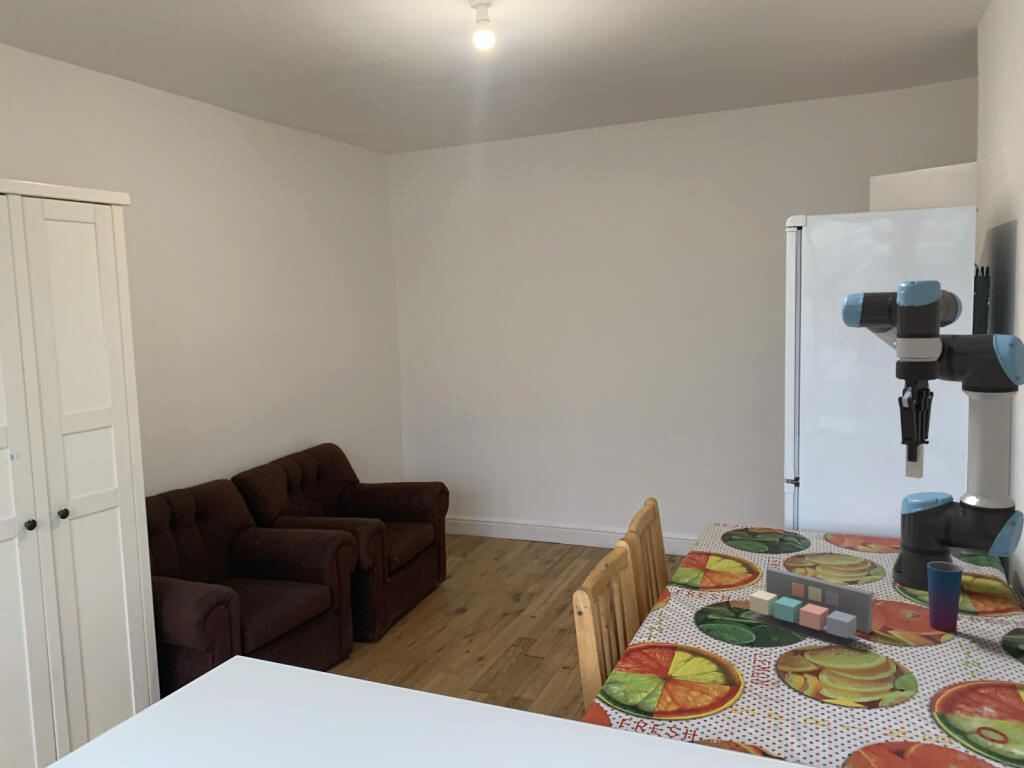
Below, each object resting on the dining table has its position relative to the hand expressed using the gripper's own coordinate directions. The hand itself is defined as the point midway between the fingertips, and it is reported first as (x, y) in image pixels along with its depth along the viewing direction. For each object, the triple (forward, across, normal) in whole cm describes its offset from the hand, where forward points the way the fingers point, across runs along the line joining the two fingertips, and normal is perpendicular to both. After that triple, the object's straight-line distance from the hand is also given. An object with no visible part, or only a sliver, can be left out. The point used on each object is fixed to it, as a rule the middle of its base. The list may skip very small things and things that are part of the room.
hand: (914, 476), depth 153 cm
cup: (+39, -19, 0) cm, 43 cm away
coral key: (+36, +3, -19) cm, 40 cm away
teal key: (+36, +3, -25) cm, 43 cm away
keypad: (+38, +1, -22) cm, 44 cm away
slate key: (+36, +3, -13) cm, 38 cm away
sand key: (+36, +2, -31) cm, 47 cm away
